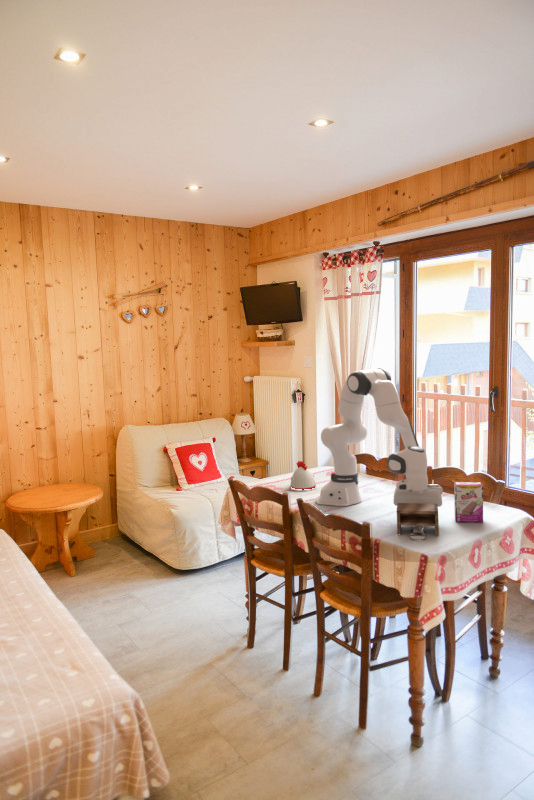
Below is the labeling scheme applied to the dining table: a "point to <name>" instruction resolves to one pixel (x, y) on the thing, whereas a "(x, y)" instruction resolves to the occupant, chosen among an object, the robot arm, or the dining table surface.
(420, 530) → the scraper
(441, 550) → the dining table surface
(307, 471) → the kitchen timer
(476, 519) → the candy bar box
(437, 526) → the walnut cabinet
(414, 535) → the steel puck
